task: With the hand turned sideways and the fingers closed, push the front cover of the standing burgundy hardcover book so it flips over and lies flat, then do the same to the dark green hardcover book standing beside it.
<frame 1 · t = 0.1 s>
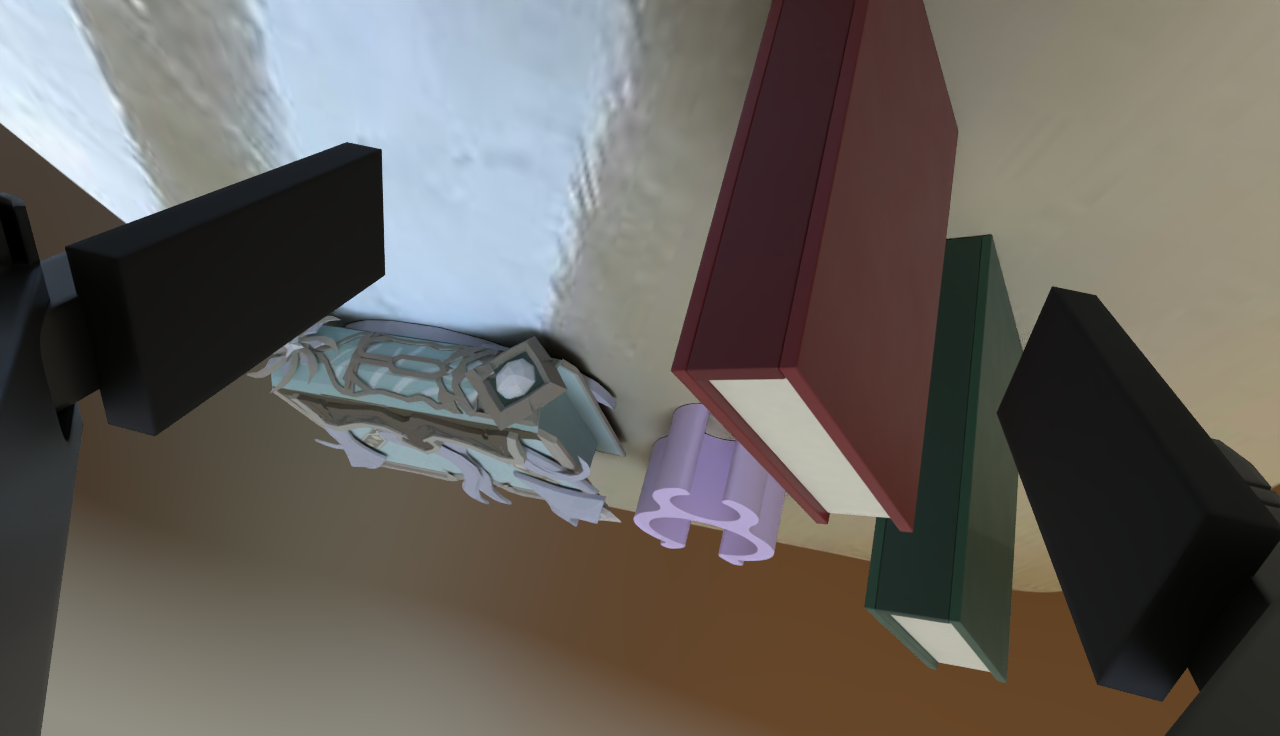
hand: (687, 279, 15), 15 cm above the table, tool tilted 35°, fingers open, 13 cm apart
ornate book: (466, 373, 67), on the table
green book: (973, 305, 39), on the table
clip: (721, 452, 67), on the table
burgundy book: (884, 37, 27), on the table
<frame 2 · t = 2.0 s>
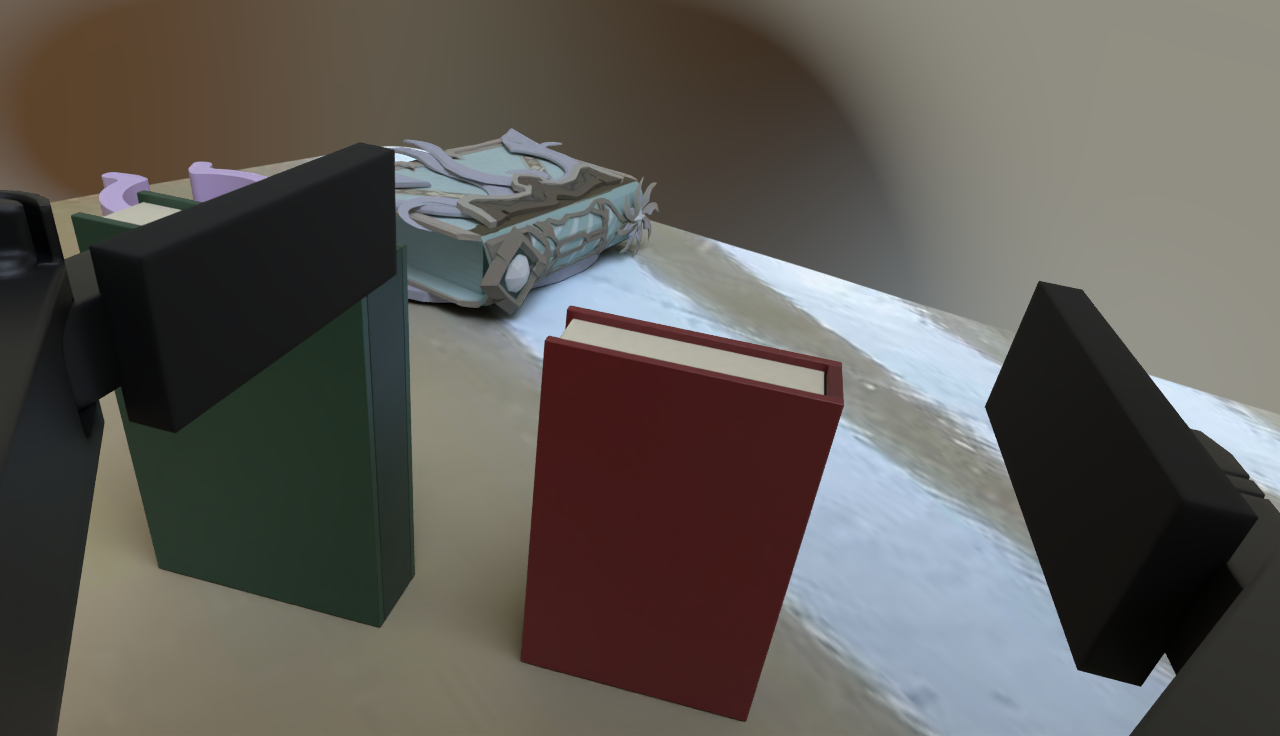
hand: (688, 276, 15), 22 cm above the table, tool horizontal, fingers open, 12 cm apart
ornate book: (496, 252, 73), on the table
green book: (289, 571, 36), on the table
clip: (229, 292, 60), on the table
burgundy book: (638, 663, 34), on the table
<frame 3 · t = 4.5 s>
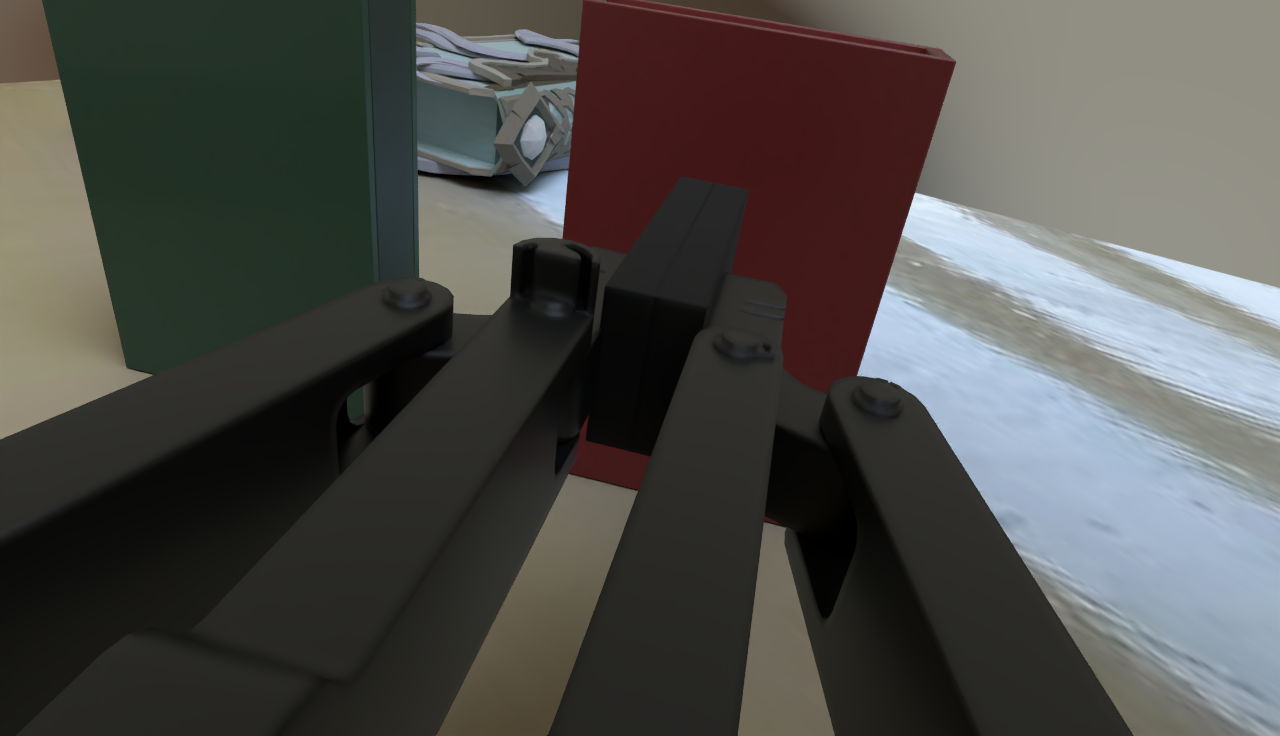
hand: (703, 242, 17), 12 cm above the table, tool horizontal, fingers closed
ornate book: (509, 143, 69), on the table
green book: (277, 377, 31), on the table
burgundy book: (679, 475, 29), on the table
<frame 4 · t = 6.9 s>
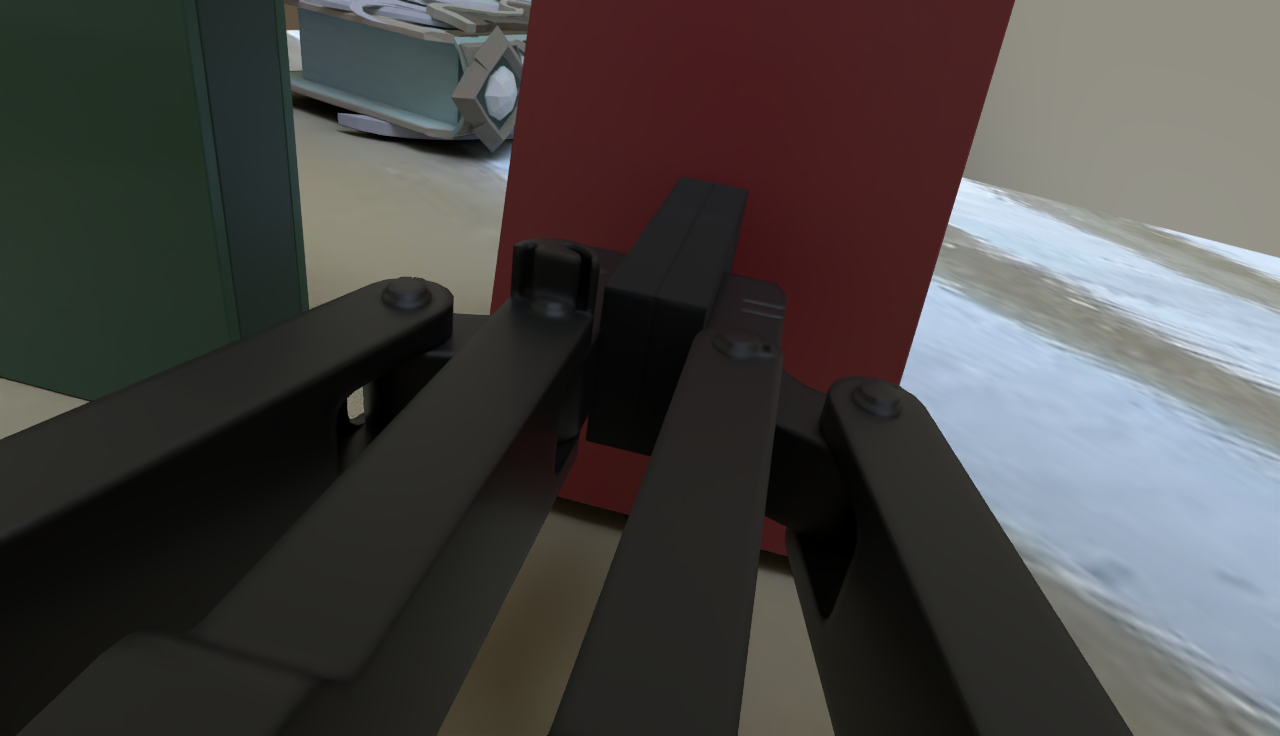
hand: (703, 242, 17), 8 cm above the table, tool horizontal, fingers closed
ornate book: (481, 110, 61), on the table
green book: (119, 369, 23), on the table
burgundy book: (659, 497, 21), on the table, tilted 13°
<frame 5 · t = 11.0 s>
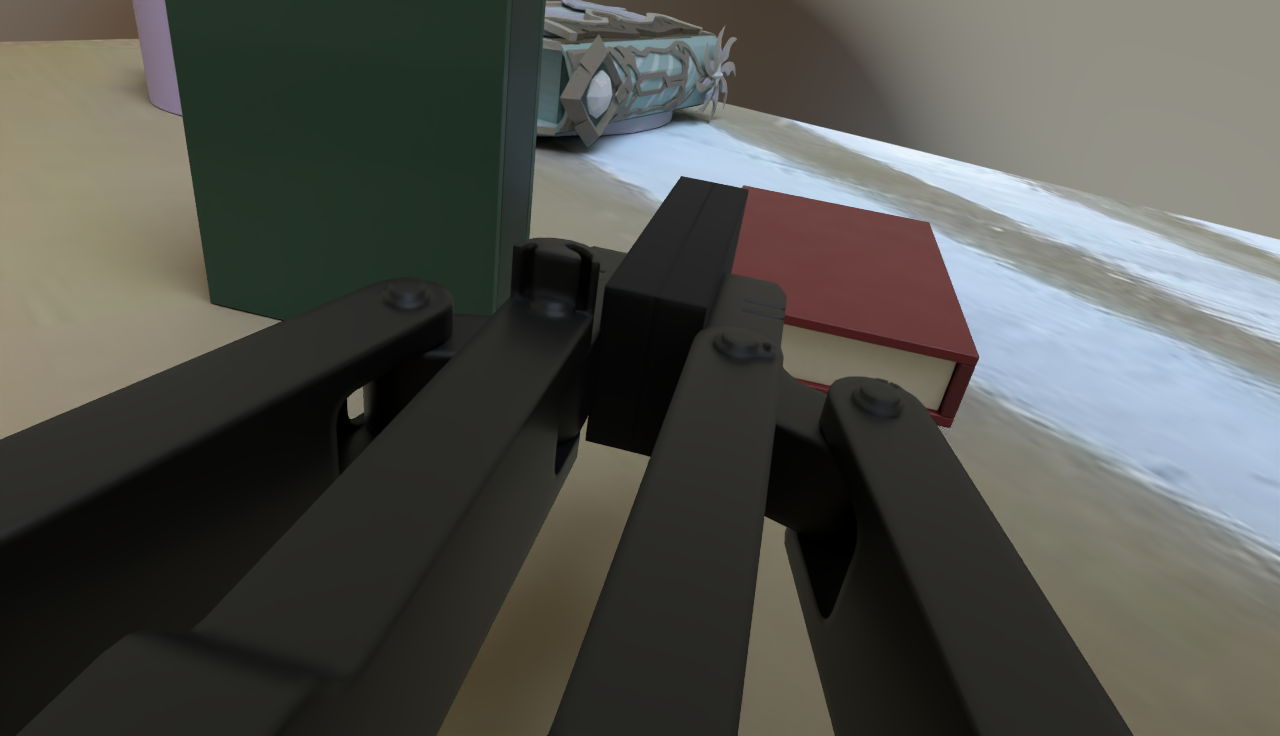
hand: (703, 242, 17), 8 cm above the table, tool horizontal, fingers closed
ornate book: (559, 110, 66), on the table
green book: (371, 317, 29), on the table
clip: (272, 113, 53), on the table
burgundy book: (825, 362, 28), point 1 cm above the table, tilted 90°
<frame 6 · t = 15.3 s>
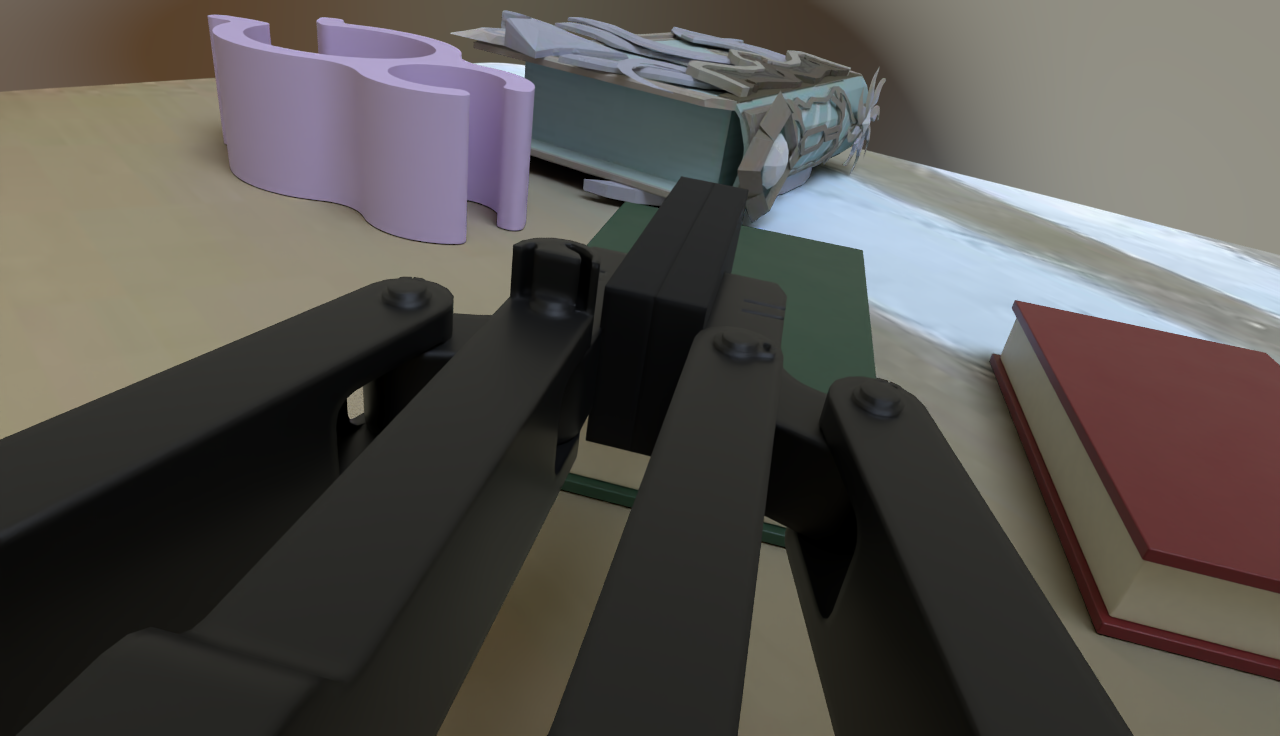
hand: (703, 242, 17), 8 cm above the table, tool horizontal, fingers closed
ornate book: (684, 162, 57), on the table
green book: (665, 466, 21), point 2 cm above the table, tilted 90°
clip: (375, 183, 44), on the table
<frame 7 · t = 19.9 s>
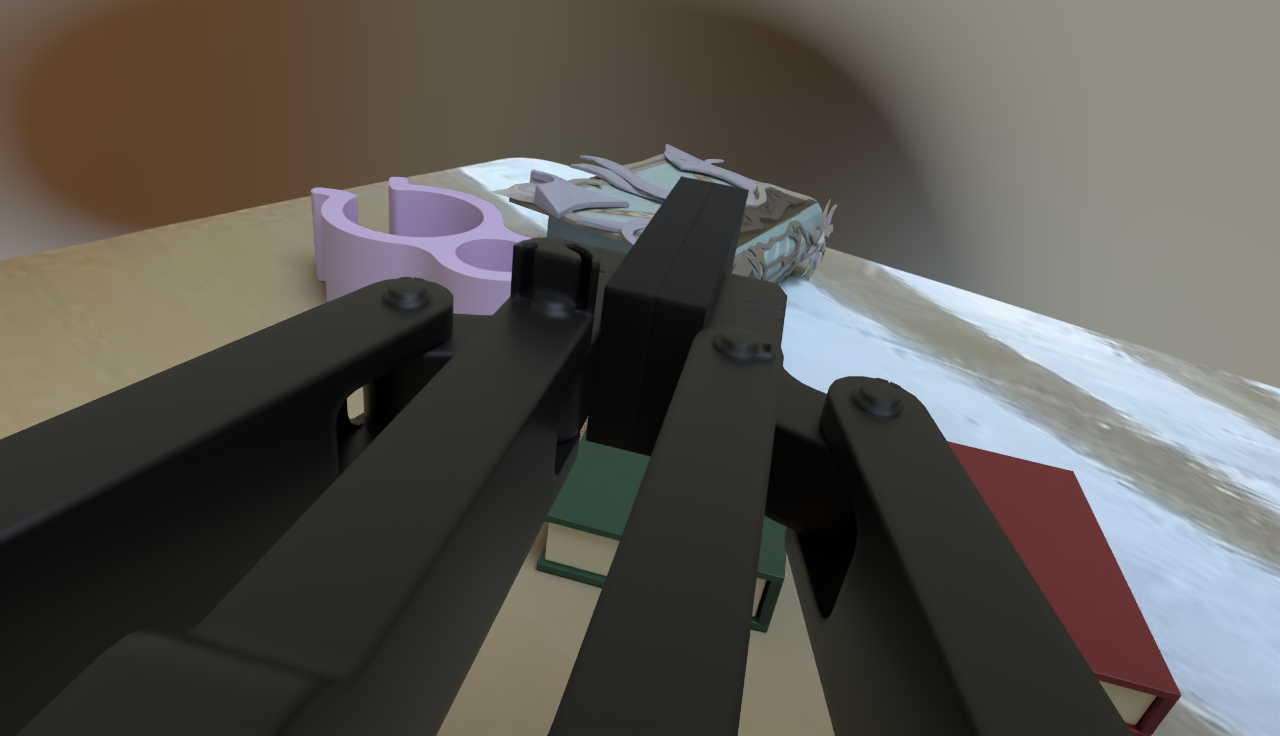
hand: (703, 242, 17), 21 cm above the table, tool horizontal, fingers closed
ornate book: (673, 273, 71), on the table
green book: (655, 573, 34), point 2 cm above the table, tilted 90°
clip: (436, 314, 57), on the table
burgundy book: (1041, 685, 32), point 1 cm above the table, tilted 90°
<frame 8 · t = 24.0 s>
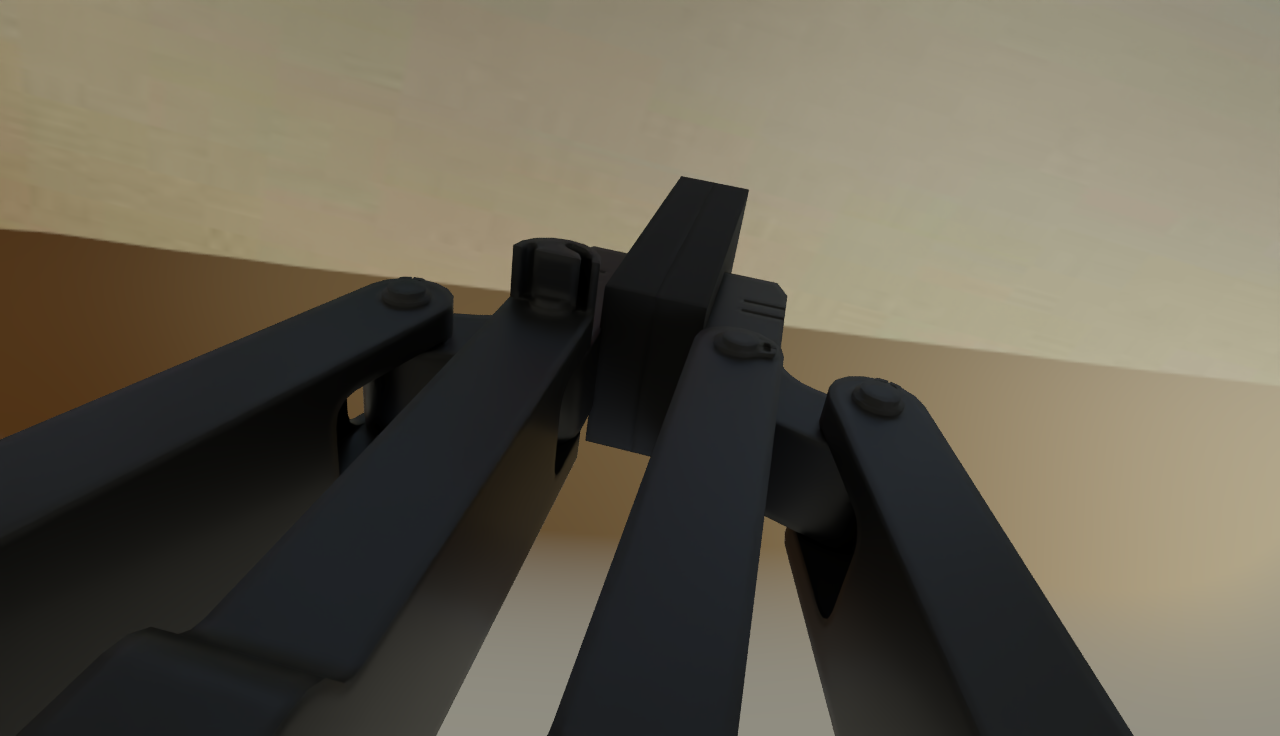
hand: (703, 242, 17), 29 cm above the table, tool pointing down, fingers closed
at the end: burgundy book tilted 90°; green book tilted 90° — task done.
